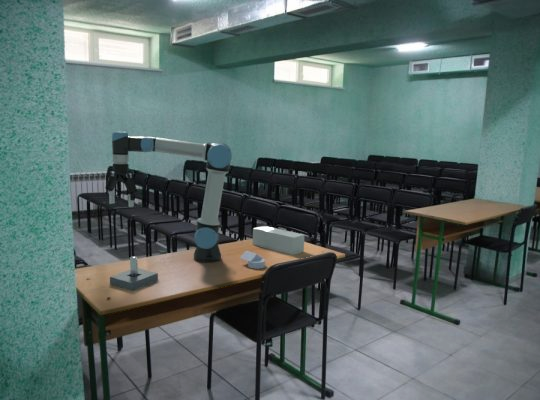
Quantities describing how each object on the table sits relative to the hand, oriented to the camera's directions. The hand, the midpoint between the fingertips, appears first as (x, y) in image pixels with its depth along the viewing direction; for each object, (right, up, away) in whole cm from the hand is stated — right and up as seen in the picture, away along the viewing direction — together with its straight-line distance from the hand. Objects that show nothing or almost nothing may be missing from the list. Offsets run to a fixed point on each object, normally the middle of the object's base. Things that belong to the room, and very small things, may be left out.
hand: (121, 205), depth 219 cm
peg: (+12, -36, -18) cm, 42 cm away
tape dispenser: (+66, -33, +14) cm, 75 cm away
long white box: (+80, -27, +49) cm, 97 cm away
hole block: (+12, -36, -18) cm, 42 cm away
